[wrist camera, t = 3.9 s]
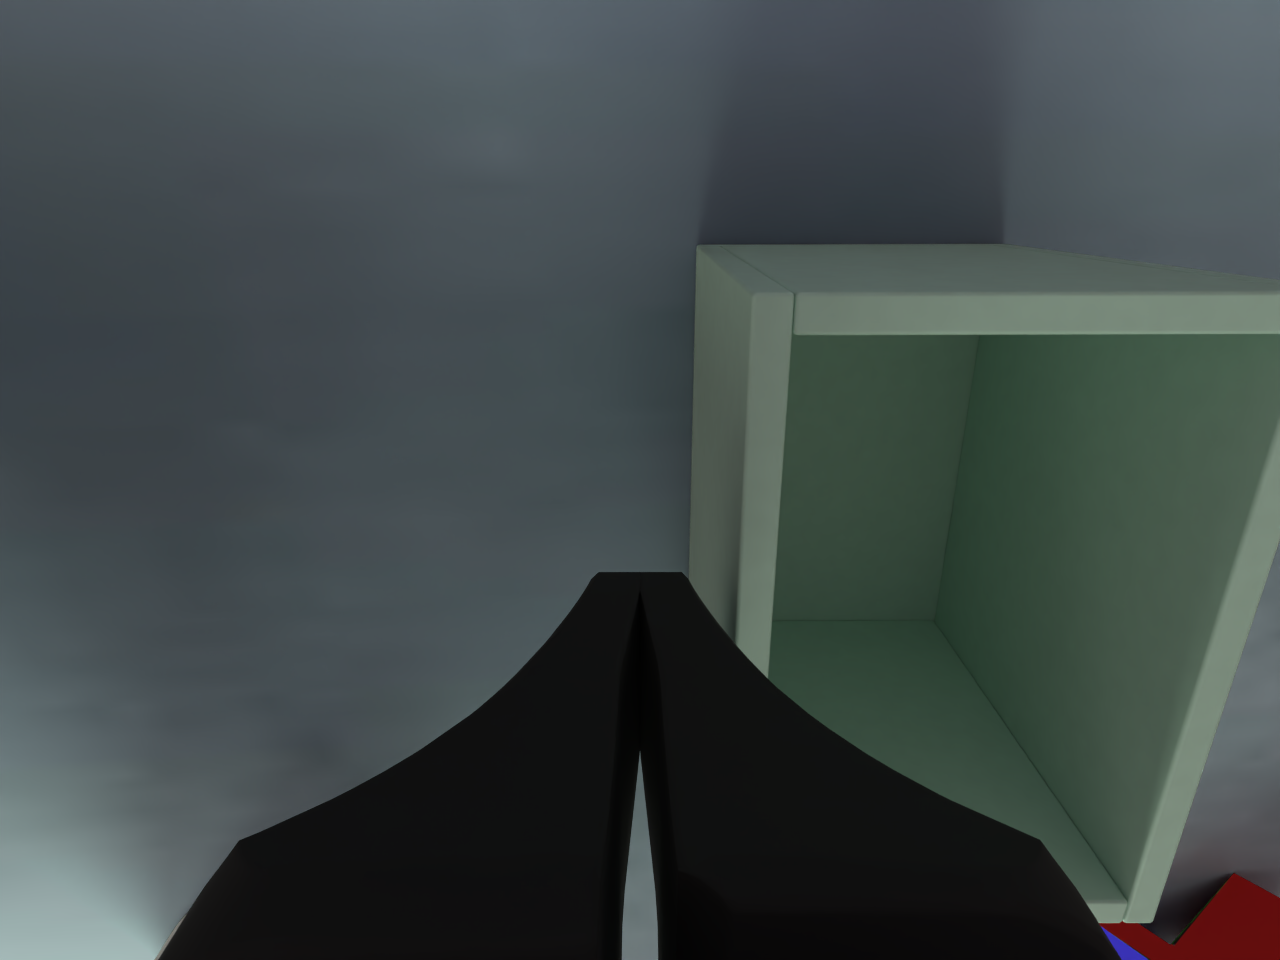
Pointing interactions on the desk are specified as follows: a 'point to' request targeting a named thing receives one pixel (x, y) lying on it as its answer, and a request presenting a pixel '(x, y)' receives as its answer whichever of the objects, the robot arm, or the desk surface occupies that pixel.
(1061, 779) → the bin
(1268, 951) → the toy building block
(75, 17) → the desk surface
